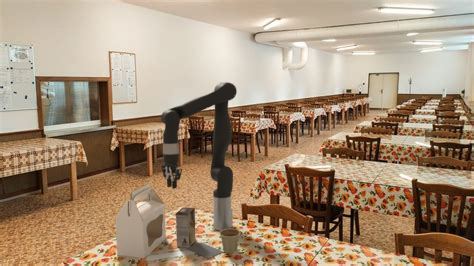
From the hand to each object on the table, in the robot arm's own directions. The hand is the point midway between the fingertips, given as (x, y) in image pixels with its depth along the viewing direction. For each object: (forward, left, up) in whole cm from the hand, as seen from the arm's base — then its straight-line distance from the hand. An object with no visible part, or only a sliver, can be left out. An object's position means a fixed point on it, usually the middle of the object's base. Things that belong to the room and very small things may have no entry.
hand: (171, 187), depth 177 cm
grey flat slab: (0, +22, -25) cm, 34 cm away
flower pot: (-8, +31, -25) cm, 41 cm away
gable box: (+16, -2, -25) cm, 30 cm away
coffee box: (0, +10, -25) cm, 27 cm away
